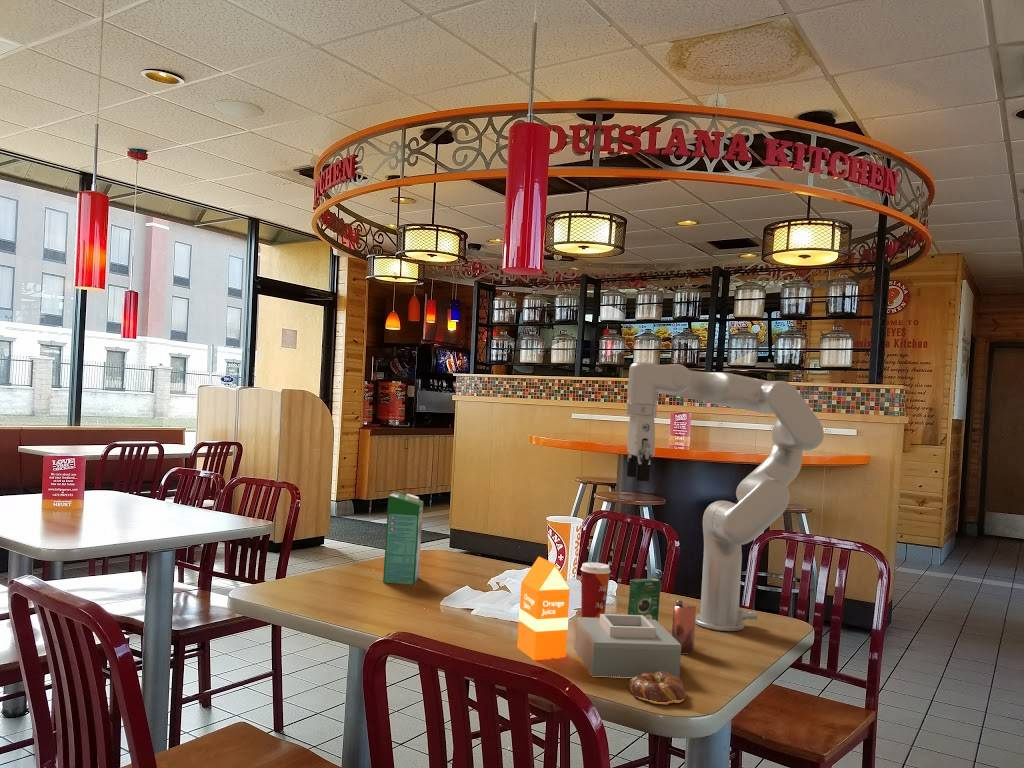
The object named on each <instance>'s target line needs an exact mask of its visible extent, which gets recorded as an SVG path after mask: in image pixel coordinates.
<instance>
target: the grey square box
mask: <svg viewBox="0 0 1024 768" xmlns="http://www.w3.org/2000/svg"><path fill="white" fill-rule="evenodd" d="M575 623H576V624H575V625H576V626H575V639H574V641H575V642H574V649H575V652H576V651H577V652H576V654H577V655H578V657H579V656H580V657H579V658H580V660H581V659H582V660H581V662H582V661H583V662H584V663H583V662H582V663H583V665H584V664H585V665H586V667H587V668H588V670H589V671H590V673H591V675H592V676H606V677H607V676H608V677H609V676H610V677H611V676H612V677H613V676H614V677H615V676H616V677H617V676H618V677H619V676H620V677H634V676H637V675H641V674H642V673H652V674H653V673H655V672H657V671H665V672H668V673H669V674H671V675H672V676H676V677H678V678H679V679H681V678H680V674H681V659H682V658H681V657H682V654H681V644H680V643H679V642H678V641H677V640H676V639H675V638H674V637H673V636H672V633H670V632H669V631H668V630H667V629H666V628H665V627H664V626H663V625H662V624H660V623H659V621H658V622H657V621H656V620H649V619H646V618H645V617H644V616H643V615H628V614H616V613H615V614H614V613H612V614H611V613H609V614H608V613H605V614H600V618H588V617H582V616H577V617H576V622H575ZM585 665H584V666H585ZM586 667H585V668H586ZM587 668H586V669H587ZM588 670H587V671H588ZM591 675H590V676H591Z"/></svg>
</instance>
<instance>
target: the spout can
mask: <svg viewBox="0 0 1024 768" xmlns="http://www.w3.org/2000/svg"><path fill="white" fill-rule="evenodd" d="M683 602H684V601H683V600H681V599H677V600H676V603H674V604H673V612H672V628H671V629H672V630H671V635H672V636H673V637H674V638H675V639H676V640H677V641H678V642H679V643H680V644H681V653H692V654H694V653H693V652H695V651H694V650H695V636H696V635H695V634H696V623H695V620H696V615H697V607H696V605H693V604H690V603H683Z"/></svg>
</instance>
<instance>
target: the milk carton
mask: <svg viewBox="0 0 1024 768" xmlns="http://www.w3.org/2000/svg"><path fill="white" fill-rule="evenodd" d="M387 499H388V501H387V515H386V518H387V519H386V533H385V547H384V561H383V562H384V563H383V577H382V583H387V584H400V585H401V584H403V585H416V582H417V580H418V579H419V578H420V577H419V573H420V562H421V561H420V558H421V557H420V556H421V547H422V546H421V541H422V528H423V514H424V513H423V512H424V501H423V500H422V499H420V496H416V495H414V494H410V493H406V494H402V493H399V492H396V491H393V492H392V493H390V494H389V495H388V498H387Z"/></svg>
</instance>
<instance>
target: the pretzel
mask: <svg viewBox="0 0 1024 768" xmlns="http://www.w3.org/2000/svg"><path fill="white" fill-rule="evenodd" d="M628 689H630V690H631V691H632V692H633V694H634V695H635V696H638V697H641V698H645V699H648V700H652V701H657V702H668V701H672V700H682V699H685V700H686V698H687V693H686V690H685V689H684V684H683V681H682V679H681V678H678V677H676V676H672V675H671V674H669V673H668V672H665V671H657V672H655V673H653V674H652V673H642V674H641V675H637V676H634V677H633V678H632V679H629V682H628ZM630 690H629V691H630ZM633 694H632V695H633ZM634 695H633V696H634ZM635 696H634V697H635Z"/></svg>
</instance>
